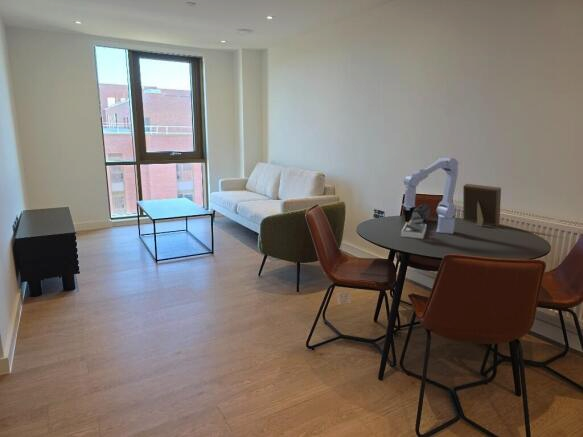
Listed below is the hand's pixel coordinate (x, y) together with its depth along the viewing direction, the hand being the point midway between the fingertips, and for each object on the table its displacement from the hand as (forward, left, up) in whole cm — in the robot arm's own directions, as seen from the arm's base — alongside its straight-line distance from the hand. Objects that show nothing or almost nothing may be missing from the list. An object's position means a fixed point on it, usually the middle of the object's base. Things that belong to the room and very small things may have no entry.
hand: (408, 220), depth 227 cm
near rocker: (-3, 0, -4) cm, 5 cm away
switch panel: (-3, -6, -8) cm, 11 cm away
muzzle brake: (-3, -35, -9) cm, 36 cm away
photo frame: (-39, -49, -9) cm, 63 cm away
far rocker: (-3, -12, -4) cm, 13 cm away
